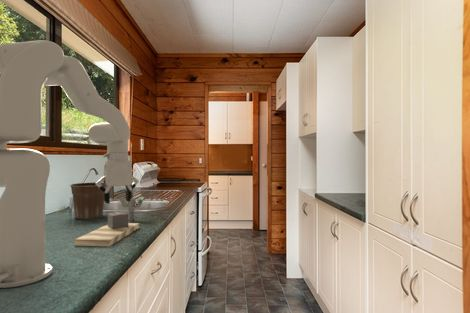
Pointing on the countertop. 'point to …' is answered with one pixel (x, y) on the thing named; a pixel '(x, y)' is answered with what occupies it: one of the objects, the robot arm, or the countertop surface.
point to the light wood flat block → (105, 235)
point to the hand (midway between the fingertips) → (117, 201)
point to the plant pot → (87, 200)
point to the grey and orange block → (117, 220)
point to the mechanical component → (131, 205)
